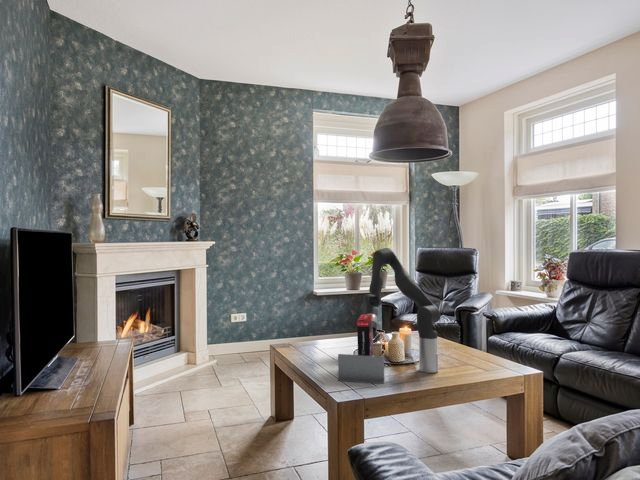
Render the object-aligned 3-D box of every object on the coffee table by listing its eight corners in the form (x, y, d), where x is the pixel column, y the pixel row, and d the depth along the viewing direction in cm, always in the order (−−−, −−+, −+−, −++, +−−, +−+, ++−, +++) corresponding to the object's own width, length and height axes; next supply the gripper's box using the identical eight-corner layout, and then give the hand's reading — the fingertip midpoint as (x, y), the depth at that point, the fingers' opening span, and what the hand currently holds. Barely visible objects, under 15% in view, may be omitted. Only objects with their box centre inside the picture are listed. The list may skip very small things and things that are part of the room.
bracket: (385, 375, 233) (385, 351, 232) (383, 383, 219) (383, 358, 219) (342, 372, 237) (341, 349, 237) (337, 381, 224) (337, 356, 224)
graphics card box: (370, 374, 235) (370, 320, 234) (357, 373, 236) (356, 319, 236) (373, 364, 251) (373, 314, 251) (361, 364, 253) (360, 314, 252)
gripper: (358, 319, 267) (355, 345, 255) (381, 320, 264) (380, 346, 252) (359, 326, 272) (357, 353, 260) (382, 327, 269) (380, 354, 257)
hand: (368, 349), depth 256 cm, fingers closed
